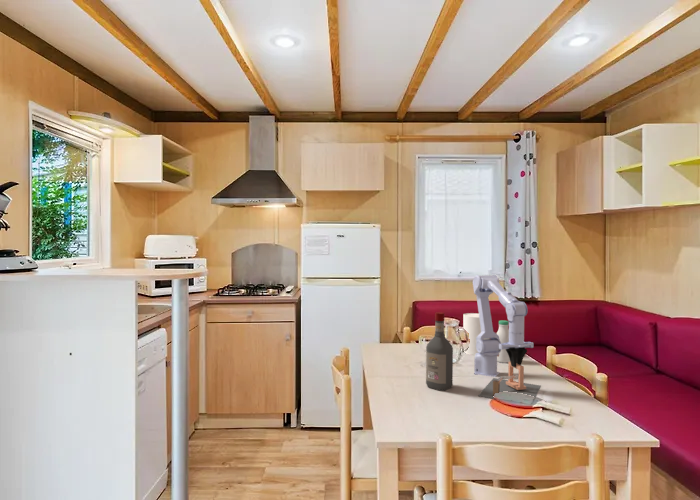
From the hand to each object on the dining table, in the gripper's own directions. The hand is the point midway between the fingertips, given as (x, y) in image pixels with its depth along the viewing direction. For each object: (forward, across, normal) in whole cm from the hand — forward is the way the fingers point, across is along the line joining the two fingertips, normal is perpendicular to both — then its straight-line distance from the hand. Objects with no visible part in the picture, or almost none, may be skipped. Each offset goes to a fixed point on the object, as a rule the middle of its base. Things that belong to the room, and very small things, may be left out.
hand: (515, 366), depth 175 cm
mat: (+9, -3, -2) cm, 10 cm away
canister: (+9, +16, +56) cm, 59 cm away
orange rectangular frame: (+8, 0, 0) cm, 8 cm away
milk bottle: (+9, +20, +38) cm, 44 cm away
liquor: (+9, -28, +10) cm, 32 cm away
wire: (+9, -6, -3) cm, 11 cm away
